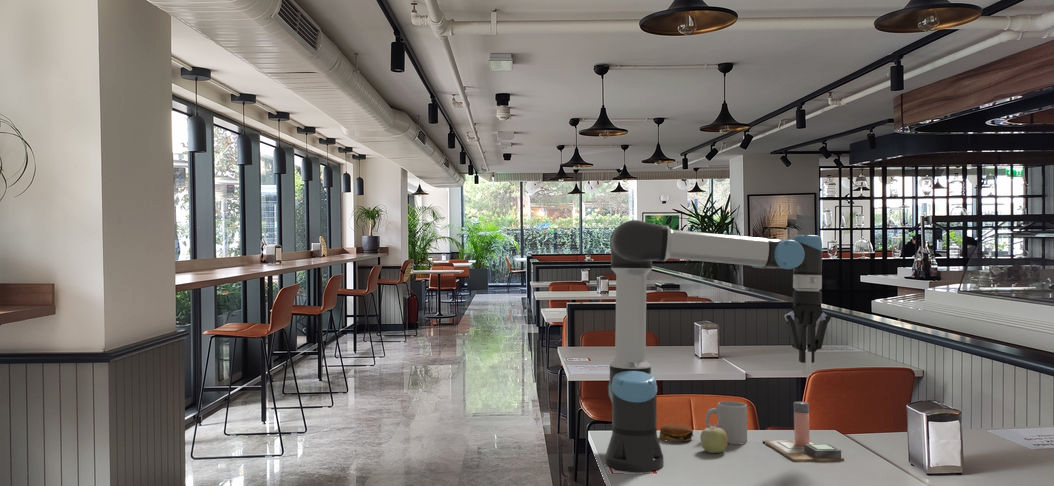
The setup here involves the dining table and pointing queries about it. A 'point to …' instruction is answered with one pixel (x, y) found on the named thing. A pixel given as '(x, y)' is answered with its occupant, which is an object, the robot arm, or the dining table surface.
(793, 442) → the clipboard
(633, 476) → the dining table surface
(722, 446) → the fruit
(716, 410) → the mug
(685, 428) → the burger
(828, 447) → the button
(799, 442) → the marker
